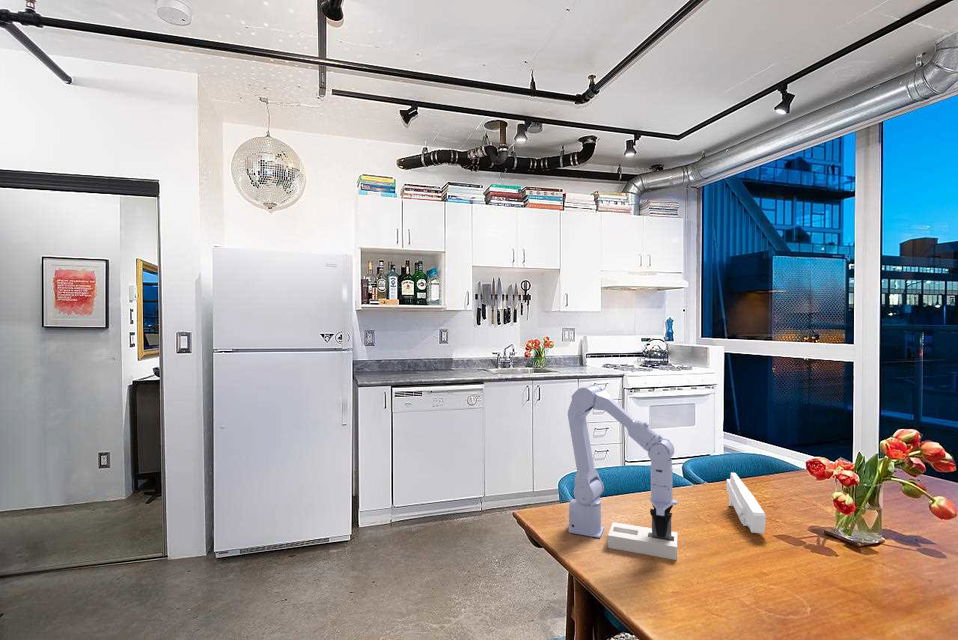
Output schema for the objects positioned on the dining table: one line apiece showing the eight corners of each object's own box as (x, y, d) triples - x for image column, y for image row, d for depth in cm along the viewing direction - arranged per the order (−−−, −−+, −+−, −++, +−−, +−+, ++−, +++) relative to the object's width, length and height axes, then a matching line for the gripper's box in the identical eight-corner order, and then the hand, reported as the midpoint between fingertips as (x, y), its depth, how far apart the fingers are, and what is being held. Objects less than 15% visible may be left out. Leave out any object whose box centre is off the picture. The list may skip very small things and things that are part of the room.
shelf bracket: (739, 506, 167) (741, 473, 165) (767, 553, 143) (770, 515, 141) (722, 505, 168) (724, 472, 166) (747, 551, 144) (749, 513, 142)
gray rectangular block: (651, 549, 134) (651, 517, 135) (652, 546, 136) (652, 514, 136) (671, 552, 132) (671, 520, 133) (671, 549, 134) (671, 517, 134)
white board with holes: (607, 547, 135) (607, 535, 135) (613, 533, 145) (612, 522, 145) (676, 560, 128) (676, 546, 128) (677, 544, 137) (677, 532, 137)
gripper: (676, 493, 126) (676, 545, 126) (677, 478, 140) (677, 525, 140) (648, 490, 129) (648, 541, 129) (651, 475, 143) (652, 521, 142)
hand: (661, 532), depth 134 cm, fingers open, 5 cm apart
